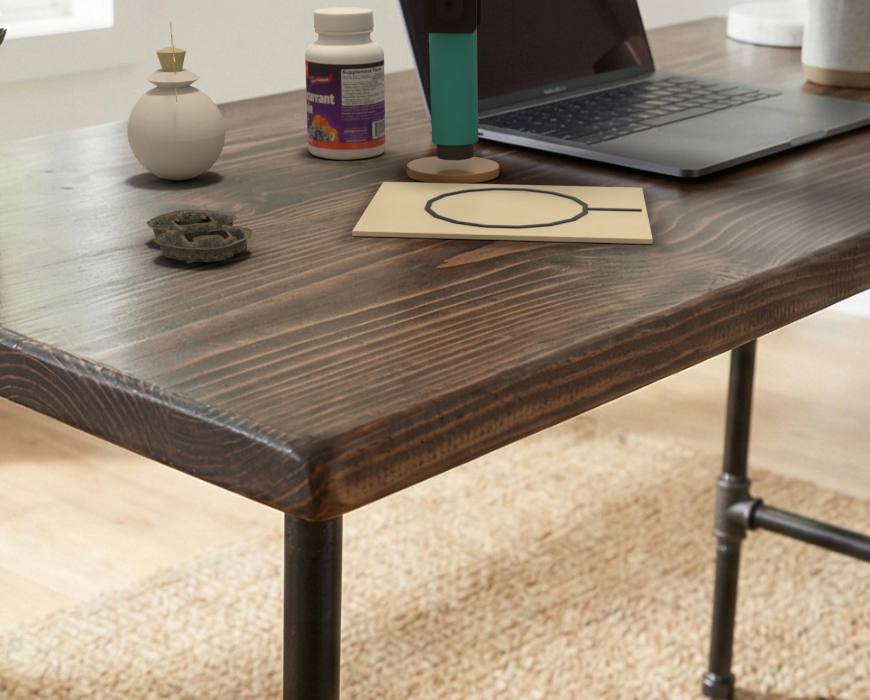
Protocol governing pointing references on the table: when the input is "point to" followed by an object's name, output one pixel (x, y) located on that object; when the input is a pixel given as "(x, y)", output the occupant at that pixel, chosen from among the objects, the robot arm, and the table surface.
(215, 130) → the ornament
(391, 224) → the yellow board
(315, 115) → the pill bottle
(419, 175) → the coaster
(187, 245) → the corroded twin loop
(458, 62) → the cylinder
